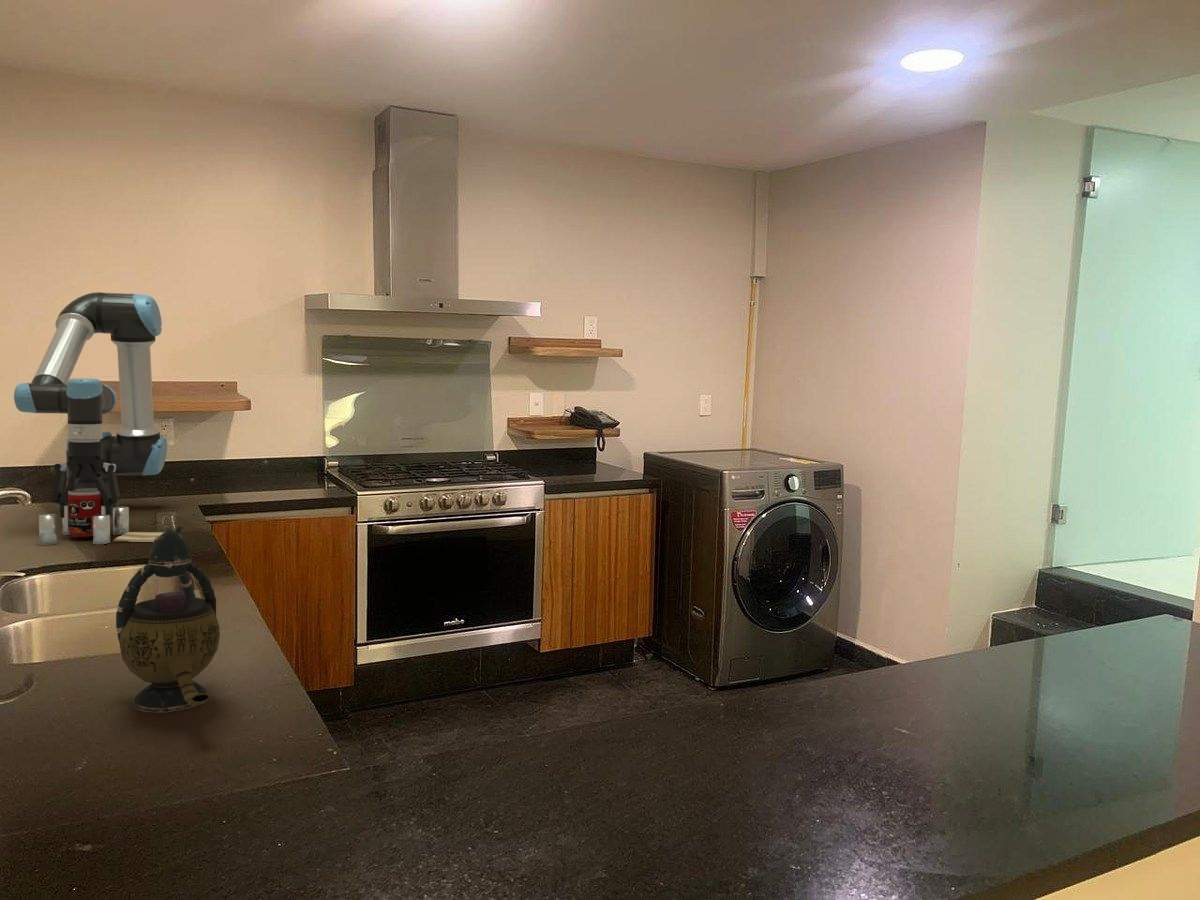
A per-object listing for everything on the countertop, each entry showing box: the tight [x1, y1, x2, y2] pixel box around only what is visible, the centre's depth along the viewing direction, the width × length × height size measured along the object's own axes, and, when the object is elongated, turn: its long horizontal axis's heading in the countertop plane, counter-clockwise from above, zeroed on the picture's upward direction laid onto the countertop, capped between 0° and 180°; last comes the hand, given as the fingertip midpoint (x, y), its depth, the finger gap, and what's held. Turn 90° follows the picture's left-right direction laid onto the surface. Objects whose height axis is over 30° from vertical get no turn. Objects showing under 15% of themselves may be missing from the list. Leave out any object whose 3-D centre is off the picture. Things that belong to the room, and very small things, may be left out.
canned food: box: [68, 488, 105, 538], centre depth 223 cm, size 8×8×11 cm
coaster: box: [113, 531, 165, 543], centre depth 225 cm, size 10×9×1 cm
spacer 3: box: [92, 515, 111, 544], centre depth 217 cm, size 4×4×7 cm
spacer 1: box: [38, 513, 58, 546], centre depth 215 cm, size 4×4×7 cm
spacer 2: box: [61, 518, 71, 536], centre depth 228 cm, size 4×4×7 cm
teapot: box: [115, 526, 221, 713], centre depth 115 cm, size 12×25×23 cm, turn 37°
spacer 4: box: [112, 506, 130, 535], centre depth 230 cm, size 4×4×7 cm
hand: (87, 530), depth 224 cm, fingers closed on canned food, 8 cm apart
